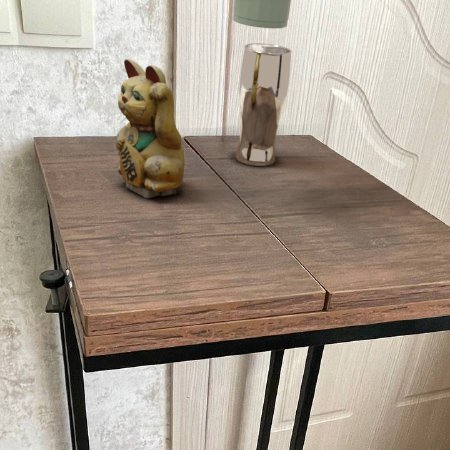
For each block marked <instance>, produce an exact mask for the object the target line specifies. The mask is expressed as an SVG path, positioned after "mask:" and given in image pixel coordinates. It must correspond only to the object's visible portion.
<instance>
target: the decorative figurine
mask: <svg viewBox="0 0 450 450" xmlns="http://www.w3.org/2000/svg"><path fill="white" fill-rule="evenodd" d="M123 64H124V70H125V72H126V76H127V79H125V80H124V81H123V82H122V83H121V86H120V94H119V95H118V97H117V106H118V109H119V110H120V112H121V114H122V115H123V116H125V118H126V120H127V121H128V122H127V124H126V125H124V126H123V127H122V128H120V129H119V130H118V132H117V134H116V137H115V138H116V139H115V146H116V150H117V153H118V156H119V165H118V167H117V172H118V174H119V175H120V176H122V180H123V181H125V187H126V188H128V189H129V190H130V191H131V192H134V193H136V194H138V195H139V196H141V197H143V198H145V199H151V198H155V197H158V196H161V197H164V196H170V195H174V194H178V191H177V189H178V188H179V187H181V186H182V184H183V181H184V175H185V152H184V147H183V143H182V135H181V132H179V130H178V128H177V125H176V123H175V116H174V115H175V112H174V111H175V103H174V94H173V91H172V89H171V87H170V85H168V83H167V80H166V75H165V74H164V72H163V70H162V69H161V68H159V67H158V66H157V65H154V64H153V65H152V64H150V65H147V66H146V67H145V70H144V68H143V67H142V66H140V64H138V63H137V62H136V61H134V60H132V59H129V58H127V59H124V61H123Z"/></svg>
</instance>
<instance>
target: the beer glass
mask: <svg viewBox="0 0 450 450" xmlns="http://www.w3.org/2000/svg"><path fill="white" fill-rule="evenodd" d="M292 53H293V51H292V49H290V48H288V47H286V46H281V45H279V44H278V45H277V44H271V43H259V42H257V43H256V42H255V43H246V44H245V45H244V46H243V54H242V60H241V66H240V74H239V82H238V83H239V85H238V102H239V103H238V105H239V117H240V118H239V120H240V132H239V139H238V144H237V148H236V150H235V151H236V152H235V155H234V156H235V159H236V160H237V162H240V163H242V164H243V165H247V166H251V167H253V166H254V167H268V166H271V165H273V164H274V163H275V162H276V138H277V132H278V129H279V125H280V121H281V118H282V115H283V111H284V109H285V104H286V100H287V97H288V91H289V85H290V77H291V63H292Z"/></svg>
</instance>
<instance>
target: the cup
mask: <svg viewBox="0 0 450 450" xmlns="http://www.w3.org/2000/svg"><path fill="white" fill-rule="evenodd" d="M291 4H292V0H233V11H232V12H233V16H232V20H233V21H234V22H235V23H236V24H237V23H238V24H240V25H245V26H248V27H254V28H262V29H284V28H287V26H288V24H289V23H288V22H289V18H290V11H291Z"/></svg>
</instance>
